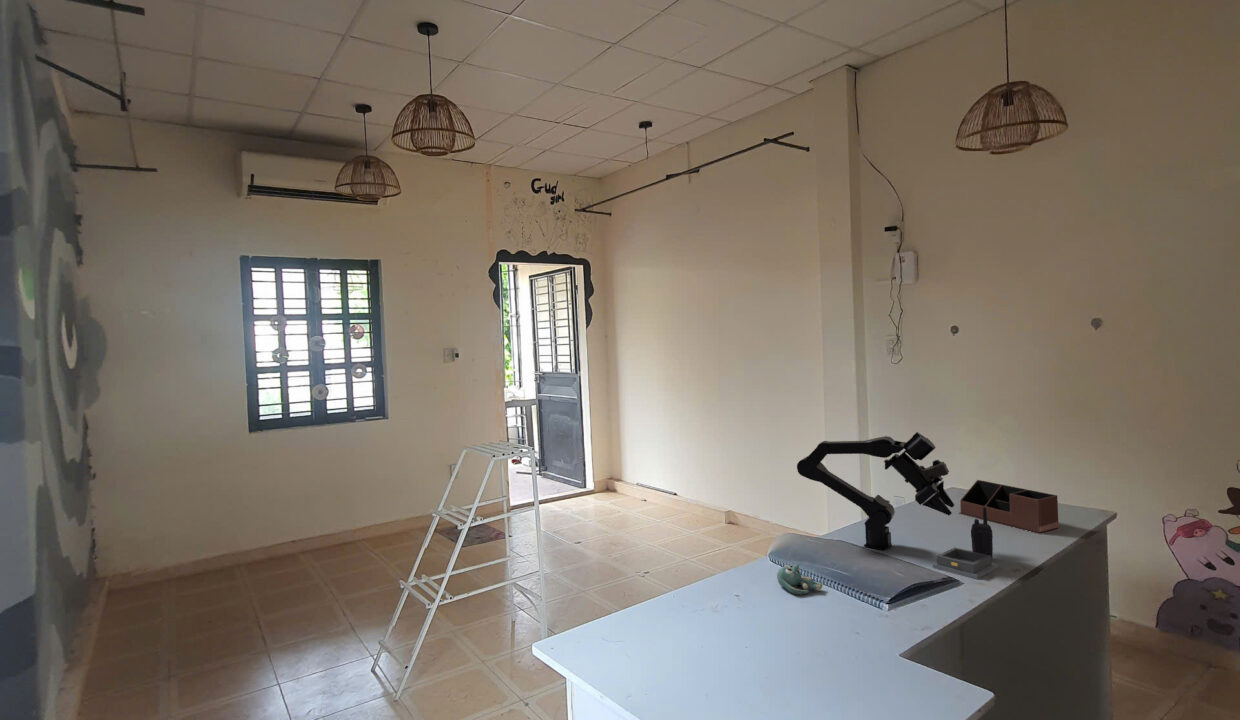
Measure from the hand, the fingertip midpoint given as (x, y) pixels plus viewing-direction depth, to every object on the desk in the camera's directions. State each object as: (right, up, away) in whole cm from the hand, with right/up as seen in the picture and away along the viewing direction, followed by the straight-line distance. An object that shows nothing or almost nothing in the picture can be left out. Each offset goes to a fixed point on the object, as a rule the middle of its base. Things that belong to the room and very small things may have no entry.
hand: (952, 510), depth 187 cm
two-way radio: (+7, -13, -4) cm, 16 cm away
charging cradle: (-2, -14, -10) cm, 17 cm away
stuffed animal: (-50, -17, -18) cm, 56 cm away
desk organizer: (+35, -11, +30) cm, 47 cm away
